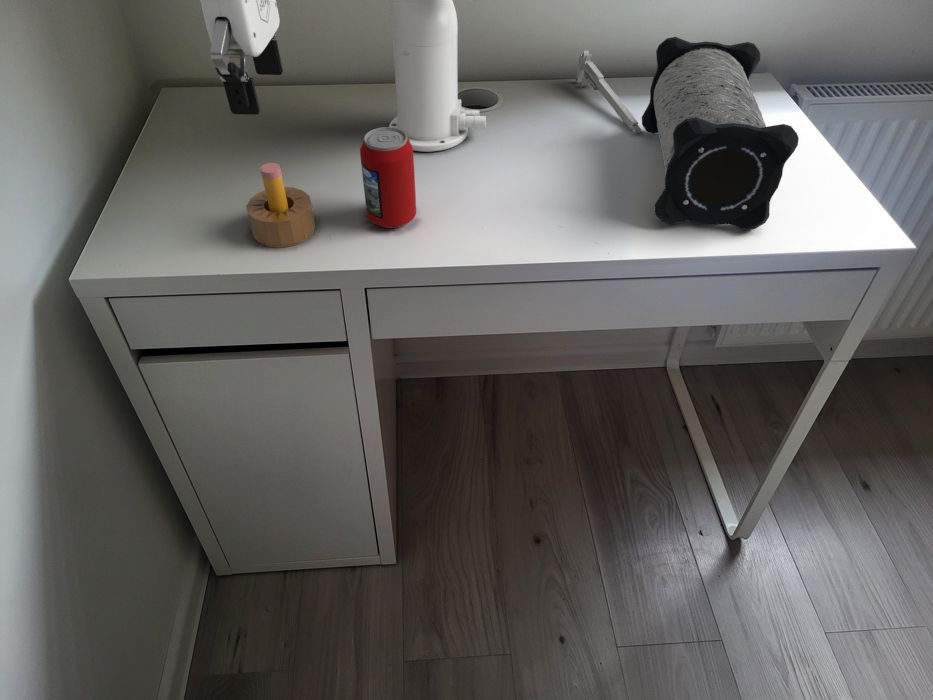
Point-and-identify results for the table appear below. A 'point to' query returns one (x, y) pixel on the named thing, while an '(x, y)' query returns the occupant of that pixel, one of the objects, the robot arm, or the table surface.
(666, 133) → the speaker
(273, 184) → the pencil
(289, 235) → the brown wooden ring
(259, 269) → the table surface
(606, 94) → the caliper
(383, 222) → the beverage can
